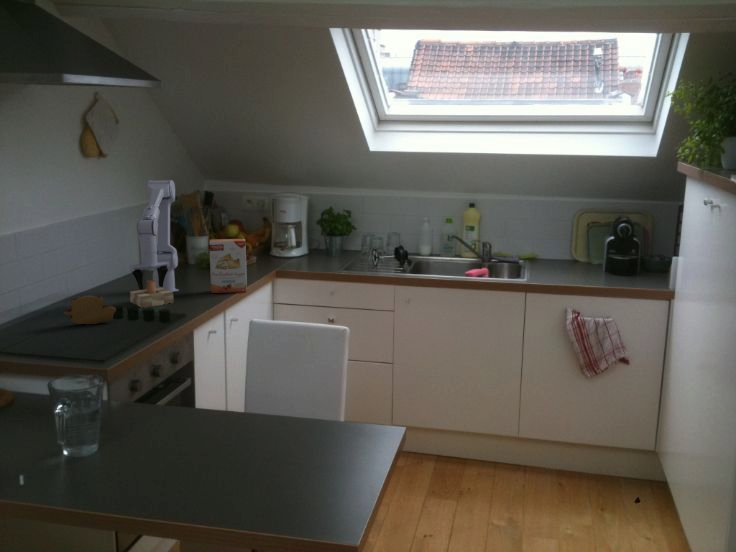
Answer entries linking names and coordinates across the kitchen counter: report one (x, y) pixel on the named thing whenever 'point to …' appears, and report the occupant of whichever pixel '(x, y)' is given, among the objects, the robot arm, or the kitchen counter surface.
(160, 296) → the socket block
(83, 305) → the wooden carving
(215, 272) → the cracker box
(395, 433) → the kitchen counter surface
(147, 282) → the peg
